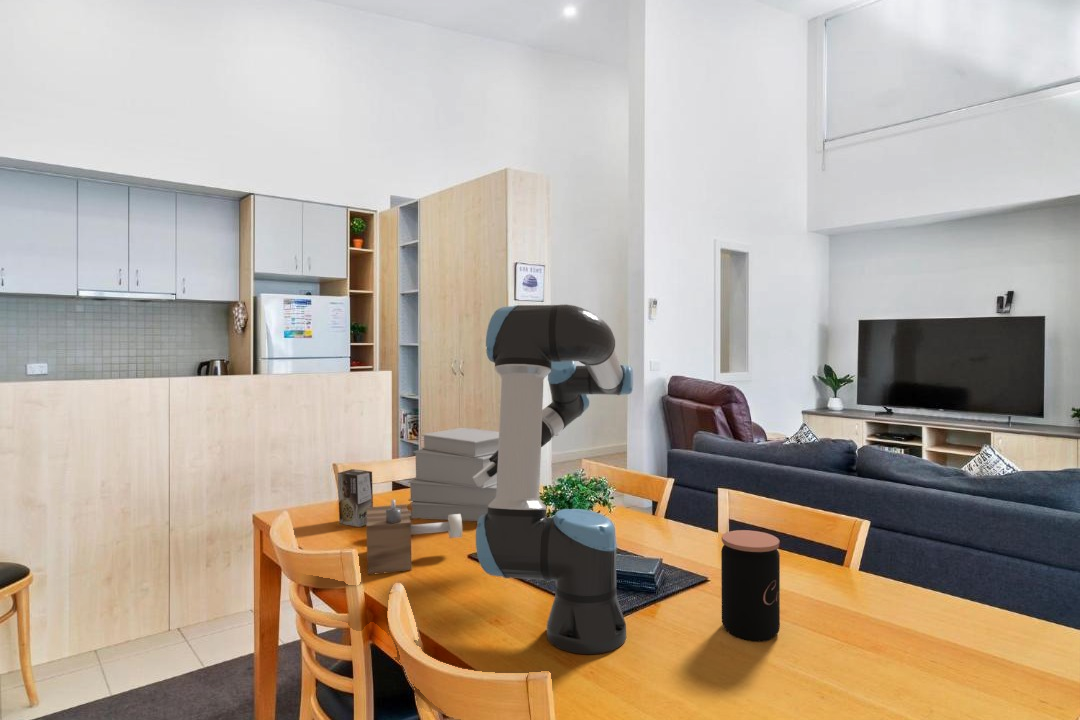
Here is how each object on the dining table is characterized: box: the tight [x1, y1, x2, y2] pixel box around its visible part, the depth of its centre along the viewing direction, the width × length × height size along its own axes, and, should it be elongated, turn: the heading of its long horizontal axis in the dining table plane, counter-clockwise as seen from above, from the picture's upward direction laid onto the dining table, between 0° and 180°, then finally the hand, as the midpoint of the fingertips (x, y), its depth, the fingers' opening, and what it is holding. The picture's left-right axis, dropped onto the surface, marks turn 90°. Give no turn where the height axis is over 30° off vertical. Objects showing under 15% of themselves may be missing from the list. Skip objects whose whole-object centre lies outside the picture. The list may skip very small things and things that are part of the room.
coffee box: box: [337, 468, 374, 528], centre depth 200 cm, size 9×6×16 cm
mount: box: [366, 503, 413, 575], centre depth 166 cm, size 18×11×12 cm, turn 15°
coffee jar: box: [720, 529, 781, 643], centre depth 124 cm, size 11×11×18 cm
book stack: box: [407, 427, 499, 522], centre depth 212 cm, size 30×35×26 cm
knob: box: [411, 514, 463, 539], centre depth 168 cm, size 6×15×6 cm, turn 105°
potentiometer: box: [386, 499, 401, 524], centre depth 159 cm, size 4×4×5 cm
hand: (476, 482), depth 159 cm, fingers closed
